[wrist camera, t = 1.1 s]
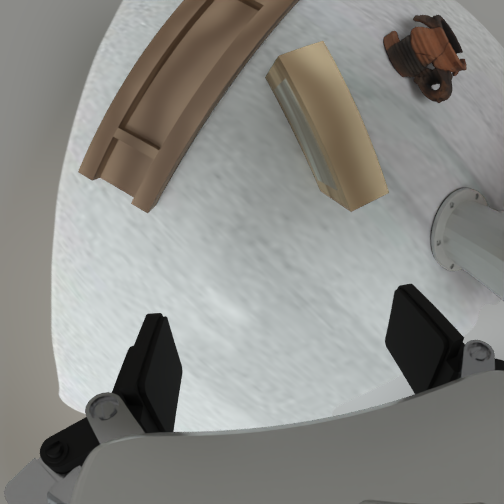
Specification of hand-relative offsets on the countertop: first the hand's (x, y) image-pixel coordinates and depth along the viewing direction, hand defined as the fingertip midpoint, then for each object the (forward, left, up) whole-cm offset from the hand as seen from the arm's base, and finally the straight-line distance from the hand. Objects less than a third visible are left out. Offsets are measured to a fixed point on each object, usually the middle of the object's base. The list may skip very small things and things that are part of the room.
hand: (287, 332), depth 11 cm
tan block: (-9, -6, -22) cm, 25 cm away
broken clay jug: (-25, -13, -23) cm, 36 cm away
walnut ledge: (+1, -16, -22) cm, 28 cm away
